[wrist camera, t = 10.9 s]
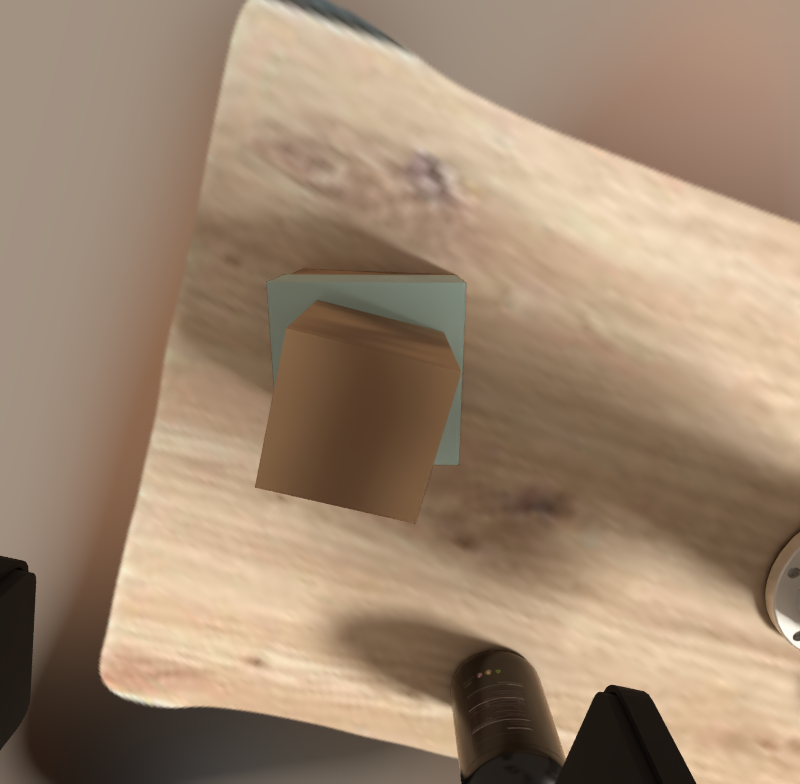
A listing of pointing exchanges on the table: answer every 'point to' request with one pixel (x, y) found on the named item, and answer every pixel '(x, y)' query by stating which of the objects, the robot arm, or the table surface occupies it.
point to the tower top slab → (385, 296)
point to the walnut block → (358, 411)
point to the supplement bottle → (503, 722)
